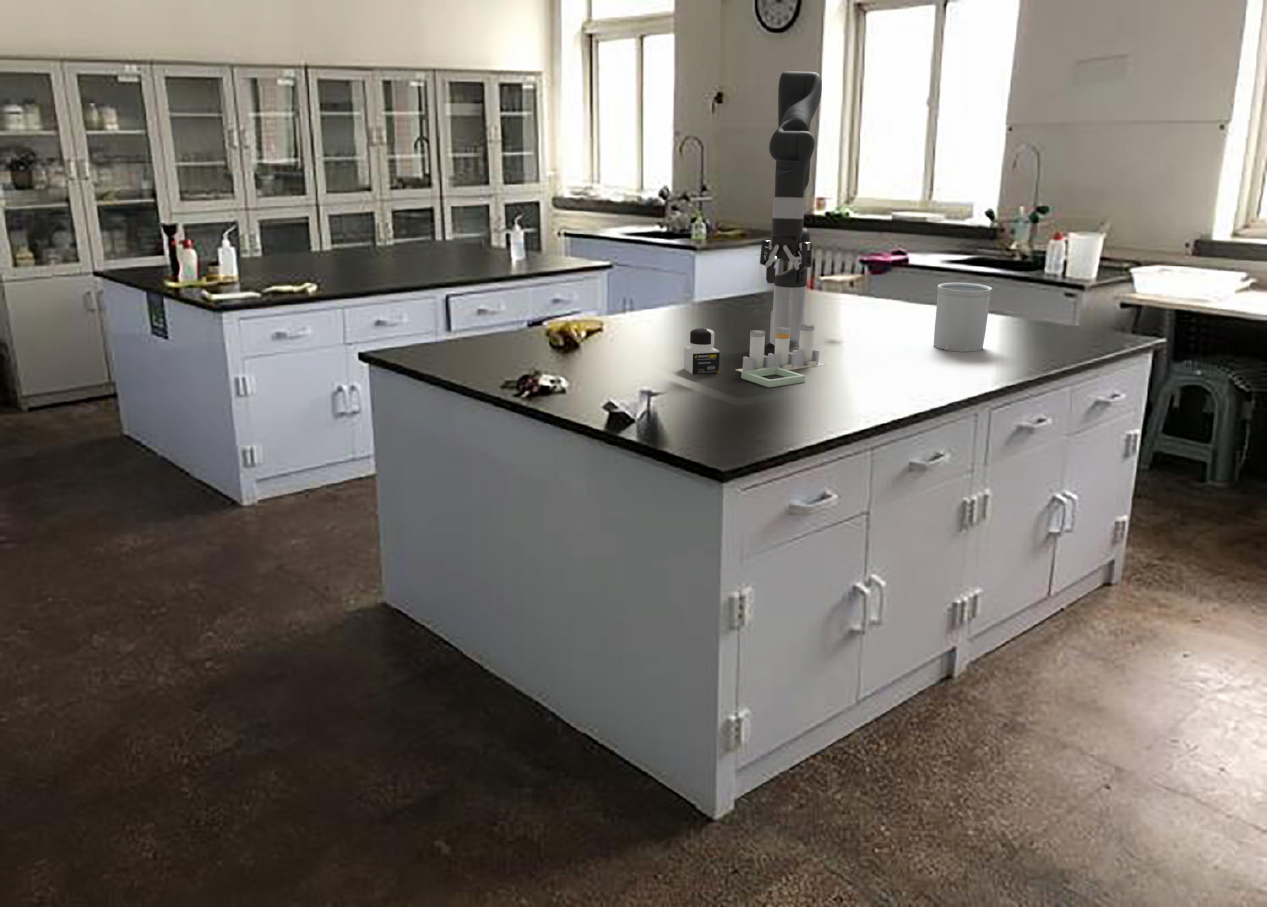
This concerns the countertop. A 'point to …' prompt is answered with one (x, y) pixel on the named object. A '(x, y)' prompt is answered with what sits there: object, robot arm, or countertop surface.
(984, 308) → the utensil holder
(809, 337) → the white capsule
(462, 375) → the countertop surface
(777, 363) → the holder
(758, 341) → the cylinder
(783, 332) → the fuse marked
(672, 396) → the countertop surface
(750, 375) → the tray
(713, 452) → the countertop surface
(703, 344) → the medicine bottle
